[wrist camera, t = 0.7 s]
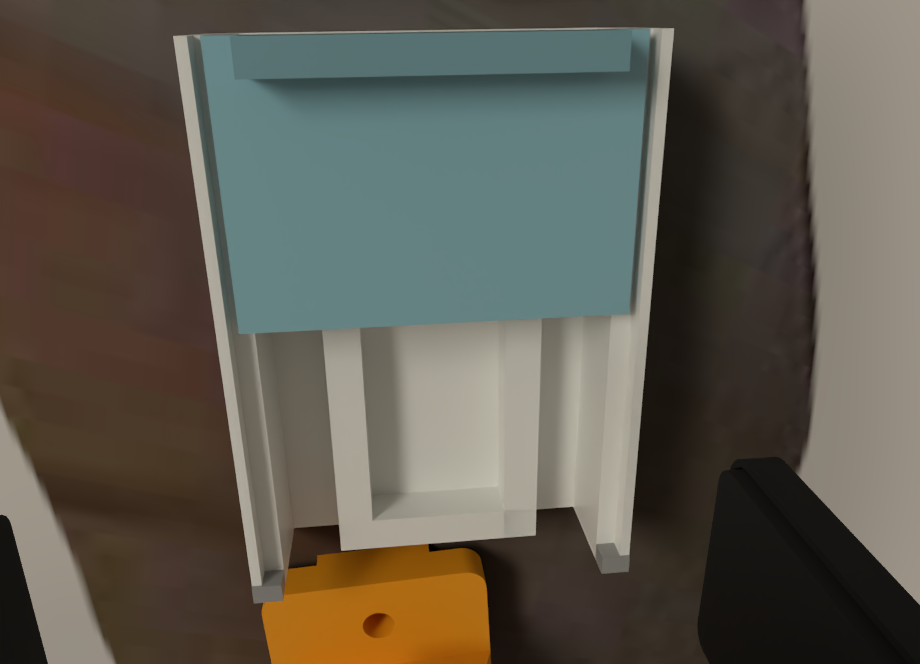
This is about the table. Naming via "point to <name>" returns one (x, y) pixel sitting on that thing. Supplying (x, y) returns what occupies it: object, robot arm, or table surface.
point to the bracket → (383, 609)
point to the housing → (431, 396)
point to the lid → (427, 174)
